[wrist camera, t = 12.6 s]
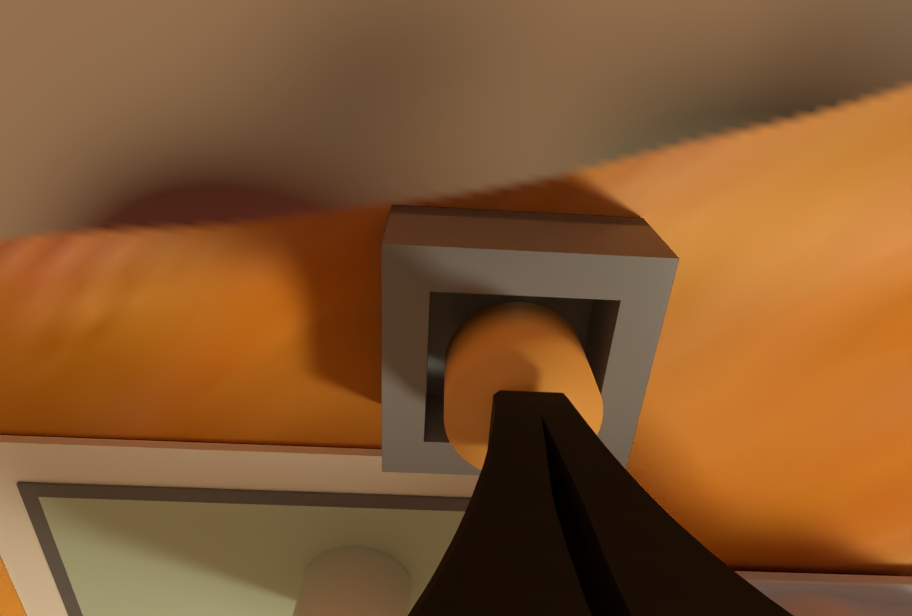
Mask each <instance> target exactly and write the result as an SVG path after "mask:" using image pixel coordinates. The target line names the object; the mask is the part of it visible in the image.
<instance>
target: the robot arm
mask: <svg viewBox="0 0 912 616" xmlns="http://www.w3.org/2000/svg"><path fill="white" fill-rule="evenodd" d="M408 616H912V576H881V575H848V574H816V573H784V572H751V571H733V570H732V569H731V568H729V567H728V566H727V565H726V564H724V563H723V562H722V561H721V560H720V559H718V558H717V557H716V556H715V555H713V554H712V553H711V552H710V551H709V550H708V549H706V548H705V547H704V546H703V545H702V544H701V543H700V542H699V541H697V540H696V539H695V538H694V537H693V536H692V535H691V534H690V533H688V532H687V531H686V530H685V529H684V528H683V527H682V526H681V525H679V524H678V523H677V522H676V521H675V520H674V519H673V518H672V517H671V516H670V515H669V514H668V513H667V512H666V511H665V510H664V509H662V508H661V507H660V506H659V504H658V503H657V502H656V501H655V500H654V499H653V498H652V497H651V496H650V495H649V494H648V493H647V492H646V491H645V490H644V489H643V488H642V487H641V486H640V485H639V484H638V483H637V481H636V480H635V479H634V478H633V477H632V476H631V475H630V474H629V473H628V471H627V470H626V469H625V468H624V467H623V466H622V465H621V463H620V462H619V461H618V460H617V459H616V458H615V456H614V455H613V454H612V453H611V452H610V451H609V449H608V448H607V447H606V446H605V445H604V443H603V442H602V441H601V440H600V438H599V437H598V436H597V435H596V433H595V432H594V431H593V430H592V428H591V427H590V426H589V425H588V423H587V422H586V421H585V420H584V418H583V417H582V416H581V414H580V413H579V412H578V410H577V409H576V408H575V407H574V405H573V404H572V403H571V401H570V400H569V399H568V398H567V396H566V395H565V394H564V393H557V392H532V391H507V390H499V391H498V392H497V393H495V394H494V395H493V402H492V412H491V421H490V430H489V440H488V449H487V453H486V457H485V461H484V464H483V467H482V470H481V473H480V475H479V478H478V481H477V484H476V486H475V489H474V492H473V494H472V497H471V500H470V502H469V504H468V507H467V509H466V511H465V514H464V516H463V518H462V520H461V522H460V524H459V527H458V529H457V531H456V533H455V535H454V537H453V539H452V541H451V543H450V545H449V547H448V549H447V550H446V552H445V554H444V556H443V558H442V560H441V562H440V563H439V565H438V567H437V569H436V571H435V572H434V574H433V576H432V578H431V579H430V581H429V583H428V584H427V586H426V588H425V589H424V591H423V592H422V594H421V596H420V597H419V599H418V600H417V602H416V603H415V605H414V606H413V608H412V609H411V611H410V613H409V614H408Z"/></svg>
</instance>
